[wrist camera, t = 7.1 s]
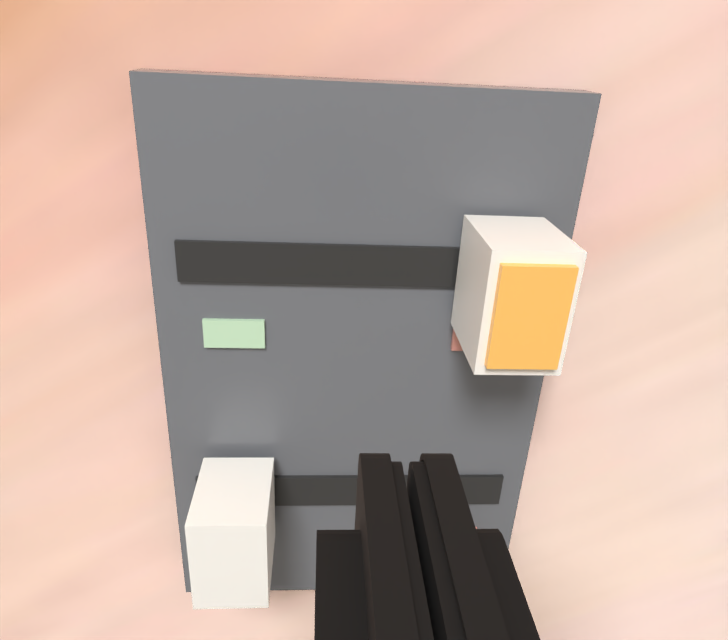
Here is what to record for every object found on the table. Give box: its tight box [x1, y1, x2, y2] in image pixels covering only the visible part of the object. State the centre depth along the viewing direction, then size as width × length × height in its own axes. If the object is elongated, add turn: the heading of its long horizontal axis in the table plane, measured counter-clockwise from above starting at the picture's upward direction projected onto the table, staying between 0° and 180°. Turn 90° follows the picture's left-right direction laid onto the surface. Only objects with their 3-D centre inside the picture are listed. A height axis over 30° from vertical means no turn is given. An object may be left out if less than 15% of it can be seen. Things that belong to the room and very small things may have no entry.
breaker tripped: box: [451, 215, 587, 376], centre depth 21 cm, size 3×4×4 cm
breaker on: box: [185, 458, 275, 609], centre depth 25 cm, size 3×4×4 cm
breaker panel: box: [129, 69, 601, 592], centre depth 26 cm, size 16×24×2 cm, turn 177°
